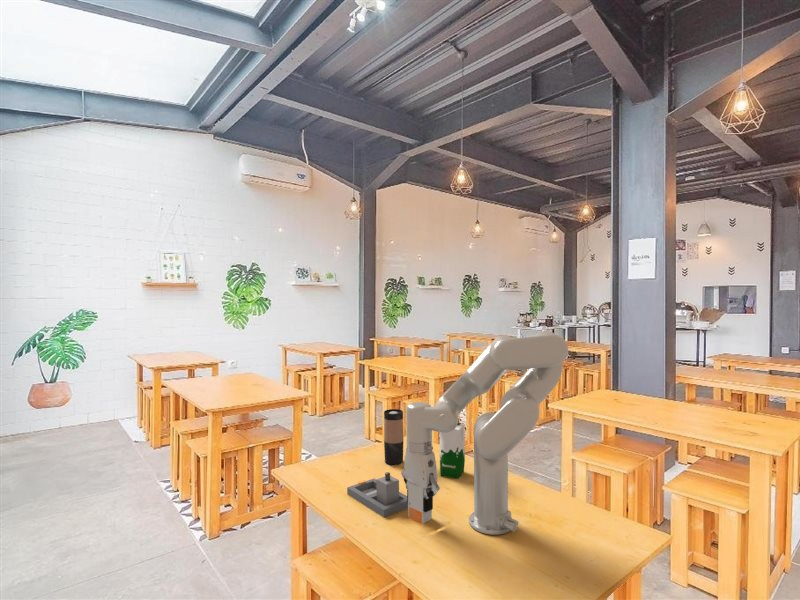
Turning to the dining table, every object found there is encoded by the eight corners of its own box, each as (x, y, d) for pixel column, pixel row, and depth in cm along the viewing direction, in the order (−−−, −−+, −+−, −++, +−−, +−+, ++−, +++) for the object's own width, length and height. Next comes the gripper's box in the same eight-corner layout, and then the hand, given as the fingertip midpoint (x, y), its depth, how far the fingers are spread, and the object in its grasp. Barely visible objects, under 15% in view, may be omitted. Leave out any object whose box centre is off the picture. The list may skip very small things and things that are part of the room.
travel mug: (407, 460, 179) (406, 410, 178) (396, 467, 172) (396, 415, 172) (391, 457, 183) (390, 408, 182) (380, 463, 176) (379, 412, 176)
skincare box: (407, 518, 133) (407, 478, 133) (416, 513, 136) (416, 474, 136) (423, 526, 129) (422, 484, 129) (432, 520, 132) (432, 479, 132)
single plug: (399, 505, 140) (398, 473, 140) (386, 510, 137) (386, 478, 137) (389, 499, 144) (389, 468, 144) (376, 504, 141) (376, 472, 141)
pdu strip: (412, 507, 140) (412, 496, 140) (384, 519, 133) (383, 507, 133) (374, 486, 155) (374, 476, 155) (347, 495, 148) (347, 485, 148)
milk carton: (466, 471, 168) (466, 417, 167) (460, 480, 159) (460, 424, 159) (444, 467, 171) (443, 415, 171) (436, 476, 163) (436, 422, 162)
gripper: (449, 450, 128) (449, 513, 128) (409, 435, 141) (410, 492, 142) (430, 456, 123) (430, 521, 123) (391, 440, 136) (391, 499, 137)
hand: (419, 505), depth 132 cm, fingers closed on skincare box, 6 cm apart
